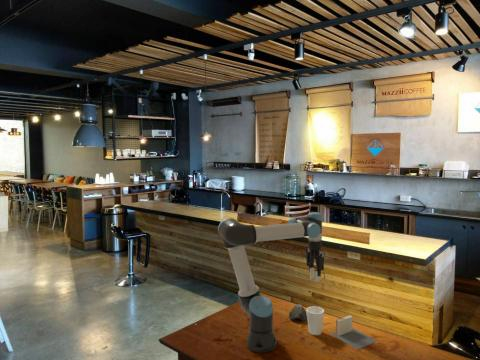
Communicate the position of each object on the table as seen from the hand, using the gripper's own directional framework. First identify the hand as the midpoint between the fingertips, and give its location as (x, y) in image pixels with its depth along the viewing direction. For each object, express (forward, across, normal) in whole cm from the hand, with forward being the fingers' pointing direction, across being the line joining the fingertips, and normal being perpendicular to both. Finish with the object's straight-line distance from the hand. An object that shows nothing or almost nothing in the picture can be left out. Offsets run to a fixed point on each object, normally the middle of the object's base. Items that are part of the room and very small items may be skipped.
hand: (314, 280), depth 212 cm
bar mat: (+25, -25, -4) cm, 35 cm away
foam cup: (+25, -10, +9) cm, 28 cm away
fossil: (+25, +9, +5) cm, 27 cm away
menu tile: (+24, -18, -4) cm, 31 cm away
